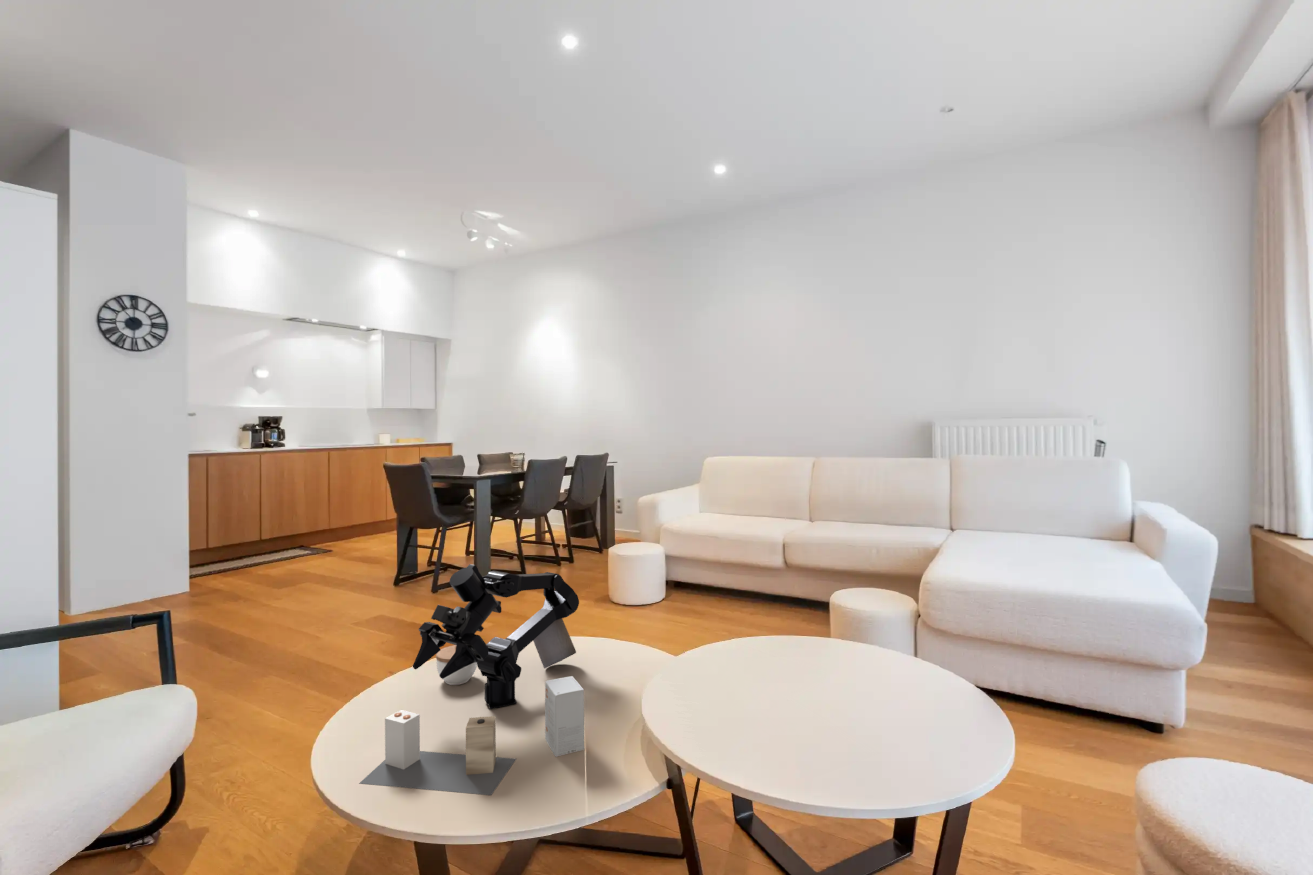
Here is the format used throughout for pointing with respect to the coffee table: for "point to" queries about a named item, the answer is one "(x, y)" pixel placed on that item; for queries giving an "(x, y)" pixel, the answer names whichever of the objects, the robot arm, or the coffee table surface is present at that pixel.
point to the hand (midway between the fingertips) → (427, 672)
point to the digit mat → (440, 774)
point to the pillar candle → (554, 644)
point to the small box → (564, 715)
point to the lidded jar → (458, 676)
